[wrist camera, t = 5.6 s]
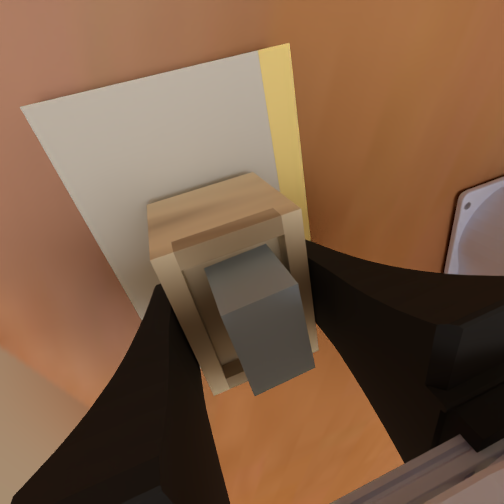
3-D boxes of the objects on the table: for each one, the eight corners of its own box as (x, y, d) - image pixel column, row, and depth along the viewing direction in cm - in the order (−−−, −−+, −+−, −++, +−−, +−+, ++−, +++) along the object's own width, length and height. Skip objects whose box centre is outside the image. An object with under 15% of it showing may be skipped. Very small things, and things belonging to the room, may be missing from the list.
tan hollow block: (276, 288, 15) (318, 350, 11) (195, 319, 14) (213, 395, 11) (252, 171, 12) (301, 208, 8) (146, 204, 11) (149, 260, 7)
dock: (303, 299, 20) (319, 319, 18) (171, 352, 18) (175, 379, 17) (268, 48, 12) (289, 42, 10) (38, 103, 11) (19, 107, 9)
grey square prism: (285, 320, 11) (315, 367, 9) (234, 342, 11) (254, 396, 9) (266, 243, 9) (297, 283, 7) (203, 268, 9) (220, 316, 7)
